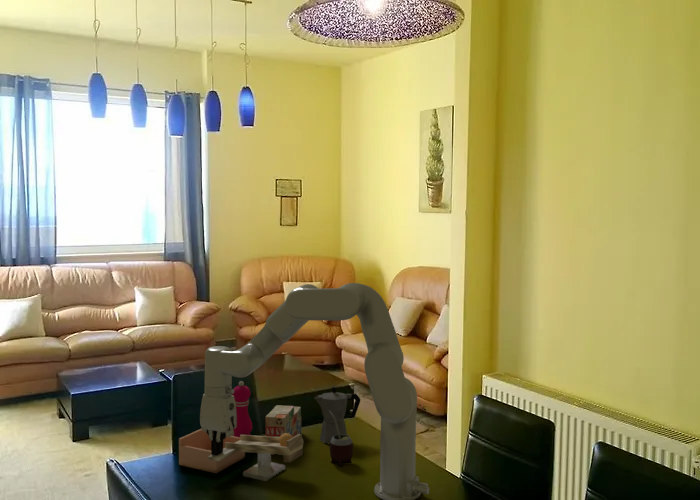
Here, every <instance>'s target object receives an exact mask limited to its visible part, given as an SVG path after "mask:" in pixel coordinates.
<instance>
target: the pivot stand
mask: <svg viewBox="0 0 700 500" xmlns="http://www.w3.org/2000/svg"><path fill="white" fill-rule="evenodd" d="M282 470H283V471H285V470H286V464H283V463H276V462H274V461H273V462H272V454H265V453H257V463H256V464H254V465H252V466H251V467H249V468H248V469H245V470H243V471H242V477H246V478H251V479H254V480H259V481H262V482H263V481H264V482H267V481H269V480H270V479H272V478H274V477H275V476H276V474H277V475H279V474H280V473H281V472H283V471H282ZM279 472H280V473H279ZM273 476H274V477H273Z"/></svg>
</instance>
